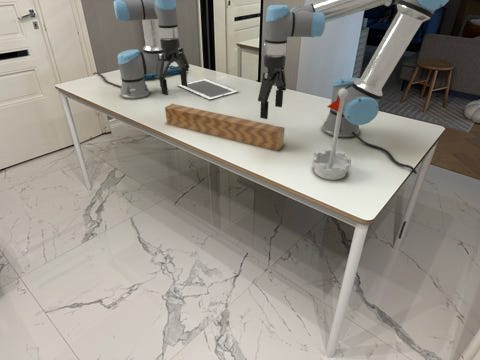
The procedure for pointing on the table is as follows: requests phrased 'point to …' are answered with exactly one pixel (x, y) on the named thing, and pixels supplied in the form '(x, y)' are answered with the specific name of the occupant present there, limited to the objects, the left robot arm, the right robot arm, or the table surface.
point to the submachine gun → (171, 71)
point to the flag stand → (333, 149)
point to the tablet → (208, 89)
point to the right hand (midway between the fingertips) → (271, 112)
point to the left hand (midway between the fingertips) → (175, 90)
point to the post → (226, 126)
